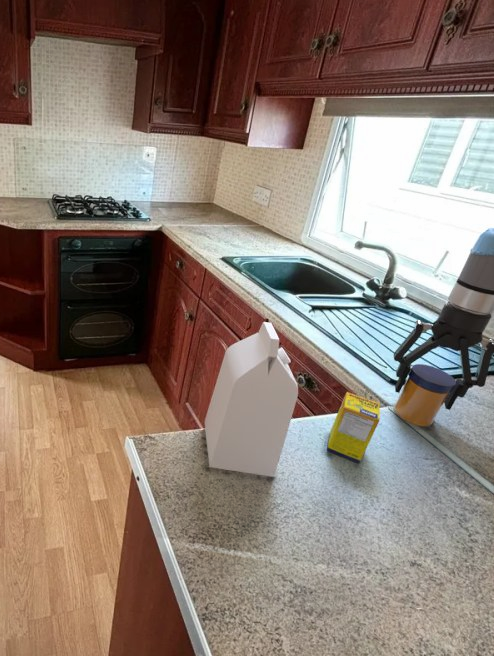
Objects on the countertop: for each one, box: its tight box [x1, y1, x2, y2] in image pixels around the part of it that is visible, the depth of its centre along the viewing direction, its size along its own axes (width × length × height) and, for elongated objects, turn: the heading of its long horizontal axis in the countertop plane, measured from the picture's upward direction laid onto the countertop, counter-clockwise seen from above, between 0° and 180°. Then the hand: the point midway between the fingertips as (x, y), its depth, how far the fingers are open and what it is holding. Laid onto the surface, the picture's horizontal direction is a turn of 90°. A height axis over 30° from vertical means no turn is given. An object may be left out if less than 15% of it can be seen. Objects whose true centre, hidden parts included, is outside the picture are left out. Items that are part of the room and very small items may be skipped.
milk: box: [204, 321, 299, 478], centre depth 72 cm, size 12×12×26 cm
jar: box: [393, 376, 449, 427], centre depth 90 cm, size 8×8×10 cm
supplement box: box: [326, 391, 381, 464], centre depth 78 cm, size 6×6×11 cm
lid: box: [408, 363, 456, 393], centre depth 88 cm, size 8×8×2 cm
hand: (421, 397), depth 90 cm, fingers open, 9 cm apart
